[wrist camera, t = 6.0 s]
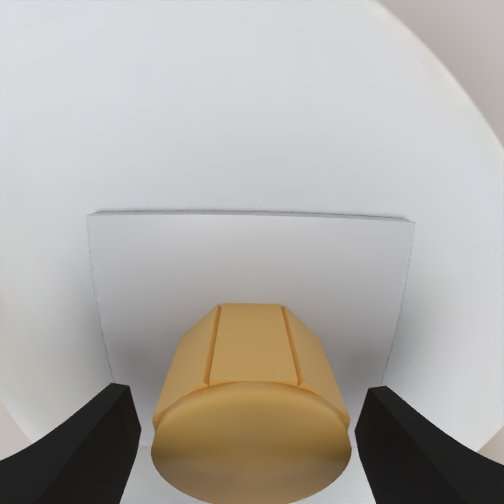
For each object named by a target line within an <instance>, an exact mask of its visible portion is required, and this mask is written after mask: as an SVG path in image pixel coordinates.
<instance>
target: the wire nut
mask: <svg viewBox="0 0 504 504" xmlns="http://www.w3.org/2000/svg"><path fill="white" fill-rule="evenodd" d="M350 422H351V421H350V417H349V414H348V412H347V409H346V406H345V404H344V401H343V398H342V396H341V393H340V390H339V388H338V385H337V383H336V380H335V377H334V375H333V372H332V369H331V367H330V364H329V362H328V359H327V357H326V354H325V351H324V349H323V346H322V344H321V341H320V339H319V338H318V337H317V336H316V335H315V334H314V333H313V332H312V331H311V330H310V329H309V328H308V327H307V326H306V325H304V324H303V323H302V322H301V321H300V320H299V319H298V318H297V317H296V316H295V315H294V314H293V313H292V312H291V311H290V310H289V309H288V308H287V307H286V306H285V305H284V306H283V307H282V308H281V304H259V303H222V307H220V306H219V305H216V306H215V307H214V308H213V309H212V310H211V311H210V312H209V313H208V314H206V315H205V316H204V317H203V318H202V319H201V320H200V321H199V322H197V323H196V324H195V325H194V326H193V327H192V328H191V329H189V330H188V331H187V332H186V333H185V334H184V335H183V336H182V337H181V338H180V341H179V343H178V346H177V349H176V351H175V354H174V357H173V360H172V363H171V365H170V368H169V371H168V374H167V377H166V380H165V383H164V386H163V388H162V391H161V394H160V397H159V400H158V403H157V406H156V409H155V412H154V415H153V418H152V423H153V427H154V431H155V436H154V439H153V443H152V446H151V456H152V461H153V463H154V465H155V467H156V469H157V471H158V472H159V473H160V475H161V476H162V477H163V478H164V479H165V480H166V481H167V482H168V483H170V484H171V485H172V486H174V487H175V488H177V489H178V490H180V491H181V492H183V493H185V494H187V495H189V496H191V497H194V498H196V499H199V500H202V501H205V502H208V503H212V504H288V503H292V502H295V501H298V500H301V499H304V498H307V497H309V496H311V495H313V494H315V493H317V492H319V491H321V490H322V489H324V488H326V487H327V486H329V485H330V484H331V483H332V482H334V481H335V480H336V479H337V478H338V477H339V476H340V475H341V474H342V472H343V471H344V470H345V468H346V467H347V465H348V463H349V460H350V457H351V450H352V448H351V442H350V439H349V436H348V433H347V431H348V428H349V425H350Z"/></svg>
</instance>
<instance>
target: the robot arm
mask: <svg viewBox="0 0 504 504" xmlns="http://www.w3.org/2000/svg"><path fill="white" fill-rule="evenodd" d="M141 430H142V428H141V425H140V422H139V419H138V415H137V412H136V408H135V405H134V401H133V397H132V393H131V389H130V386H129V385H123V384H117V383H111V384H109V385H108V386H107V387H106V388H105V389H103V390H102V391H101V392H100V393H99V394H97V395H96V396H95V397H94V398H93V399H92V400H90V401H89V402H88V403H87V404H86V405H85V406H83V407H82V408H81V409H80V410H78V411H77V412H76V413H75V414H74V415H72V416H71V417H70V418H69V419H67V420H66V421H65V422H64V423H62V424H61V425H59V426H58V427H57V428H55V429H54V430H52V431H51V432H50V433H48V434H47V435H46V436H44V437H43V438H41V439H40V440H38V441H37V442H35V443H33V444H32V445H30V446H28V447H27V448H25V449H23V450H21V451H20V452H18V453H16V454H14V455H12V456H10V457H8V458H5V459H3V460H1V461H0V504H119V503H120V501H121V498H122V495H123V492H124V489H125V486H126V483H127V481H128V478H129V475H130V472H131V469H132V466H133V464H134V461H135V458H136V454H137V450H138V445H139V440H140V435H141ZM354 433H355V438H356V443H357V448H358V452H359V457H360V460H361V463H362V465H363V468H364V471H365V474H366V476H367V479H368V482H369V485H370V487H371V490H372V493H373V496H374V498H375V501H376V504H504V465H502V464H499V463H497V462H495V461H492V460H490V459H488V458H486V457H484V456H482V455H480V454H478V453H476V452H475V451H473V450H471V449H469V448H467V447H466V446H464V445H462V444H461V443H459V442H458V441H456V440H455V439H453V438H452V437H450V436H449V435H447V434H446V433H444V432H443V431H442V430H440V429H439V428H438V427H436V426H435V425H434V424H432V423H431V422H430V421H428V420H427V419H426V418H425V417H423V416H422V415H421V414H420V413H419V412H417V411H416V410H415V409H414V408H412V407H411V406H410V405H409V404H408V403H406V402H405V401H404V400H403V399H402V398H400V397H399V396H398V395H397V394H396V393H394V392H393V391H392V390H391V389H389V388H388V387H387V386H380V387H372V388H368V391H367V394H366V397H365V400H364V403H363V407H362V410H361V413H360V416H359V419H358V422H357V424H356V427H355V430H354Z"/></svg>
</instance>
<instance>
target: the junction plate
mask: <svg viewBox="0 0 504 504" xmlns="http://www.w3.org/2000/svg"><path fill="white" fill-rule="evenodd" d="M86 220H87V232H88V243H89V253H90V261H91V269H92V276H93V283H94V290H95V296H96V302H97V308H98V313H99V319H100V324H101V329H102V333H103V338H104V343H105V347H106V351H107V356H108V360H109V364H110V368H111V372H112V375H113V379H114V383H117V384H123V385H129V386H130V389H131V393H132V397H133V401H134V405H135V408H136V412H137V415H138V419H139V422H140V425H141V428H142V430H141V435H140V440H139V445H142V446H148V447H151V446H152V443H153V439H154V436H155V431H154V427H153V423H152V418H153V415H154V412H155V409H156V406H157V403H158V400H159V397H160V394H161V391H162V388H163V386H164V383H165V380H166V377H167V374H168V371H169V368H170V365H171V363H172V360H173V357H174V354H175V351H176V349H177V346H178V343H179V341H180V338H181V337H182V336H183V335H184V334H185V333H186V332H187V331H188V330H189V329H191V328H192V327H193V326H194V325H195V324H196V323H197V322H199V321H200V320H201V319H202V318H203V317H204V316H205V315H206V314H208V313H209V312H210V311H211V310H212V309H213V308H214V307H215V306H216V305H219V306H220V307H222V303H259V304H281V308H282V307H283V306H284V305H285V306H286V307H287V308H288V309H289V310H290V311H291V312H292V313H293V314H294V315H295V316H296V317H297V318H298V319H299V320H300V321H301V322H302V323H303V324H304V325H306V326H307V327H308V328H309V329H310V330H311V331H312V332H313V333H314V334H315V335H316V336H317V337H318V338H319V339H320V341H321V344H322V346H323V349H324V351H325V354H326V357H327V359H328V362H329V364H330V367H331V369H332V372H333V375H334V377H335V380H336V383H337V385H338V388H339V390H340V393H341V396H342V398H343V401H344V404H345V406H346V409H347V412H348V414H349V417H350V421H351V422H350V425H349V428H348V431H347V433H348V436H349V439H350V442H351V448H352V447H357V443H356V438H355V433H354V430H355V427H356V424H357V422H358V419H359V416H360V413H361V410H362V407H363V403H364V400H365V397H366V394H367V391H368V388H372V387H380V385H381V382H382V378H383V375H384V372H385V368H386V365H387V361H388V358H389V354H390V351H391V347H392V343H393V339H394V335H395V331H396V327H397V323H398V318H399V314H400V309H401V305H402V300H403V295H404V290H405V285H406V279H407V274H408V268H409V262H410V255H411V249H412V241H413V234H414V225H415V222H412V221H409V220H407V219H404V218H390V217H374V216H356V215H336V214H313V213H285V212H246V211H125V212H96V213H93V214H90V215H87V216H86Z"/></svg>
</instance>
